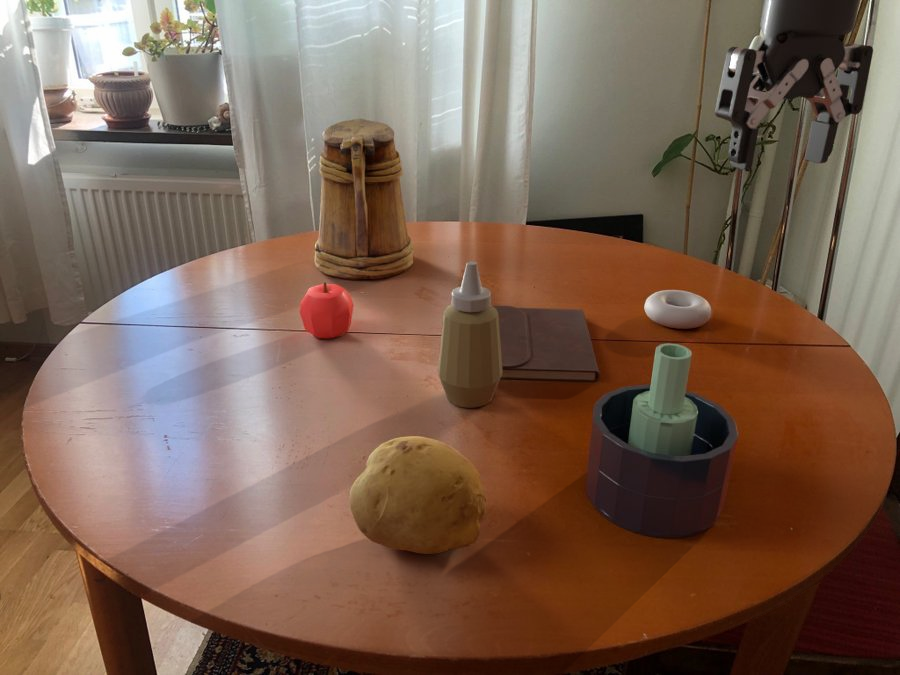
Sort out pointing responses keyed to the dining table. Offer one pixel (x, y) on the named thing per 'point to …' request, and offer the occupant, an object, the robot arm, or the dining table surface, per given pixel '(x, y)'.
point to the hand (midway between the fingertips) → (778, 164)
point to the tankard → (361, 203)
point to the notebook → (546, 344)
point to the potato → (418, 497)
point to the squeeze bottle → (470, 344)
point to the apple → (326, 310)
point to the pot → (659, 470)
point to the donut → (677, 309)
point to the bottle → (665, 406)
